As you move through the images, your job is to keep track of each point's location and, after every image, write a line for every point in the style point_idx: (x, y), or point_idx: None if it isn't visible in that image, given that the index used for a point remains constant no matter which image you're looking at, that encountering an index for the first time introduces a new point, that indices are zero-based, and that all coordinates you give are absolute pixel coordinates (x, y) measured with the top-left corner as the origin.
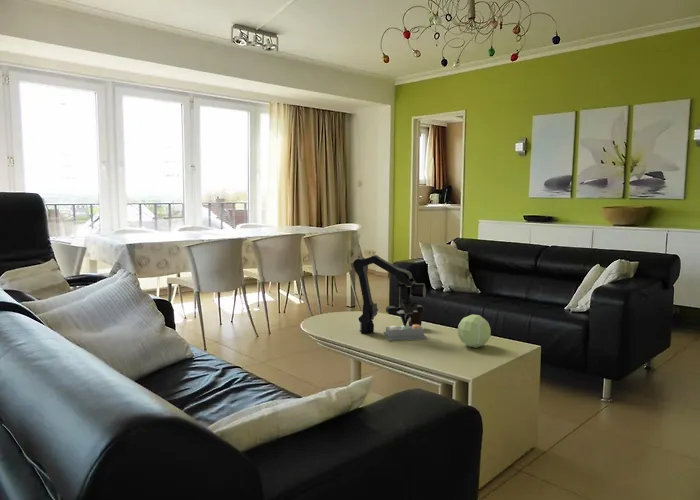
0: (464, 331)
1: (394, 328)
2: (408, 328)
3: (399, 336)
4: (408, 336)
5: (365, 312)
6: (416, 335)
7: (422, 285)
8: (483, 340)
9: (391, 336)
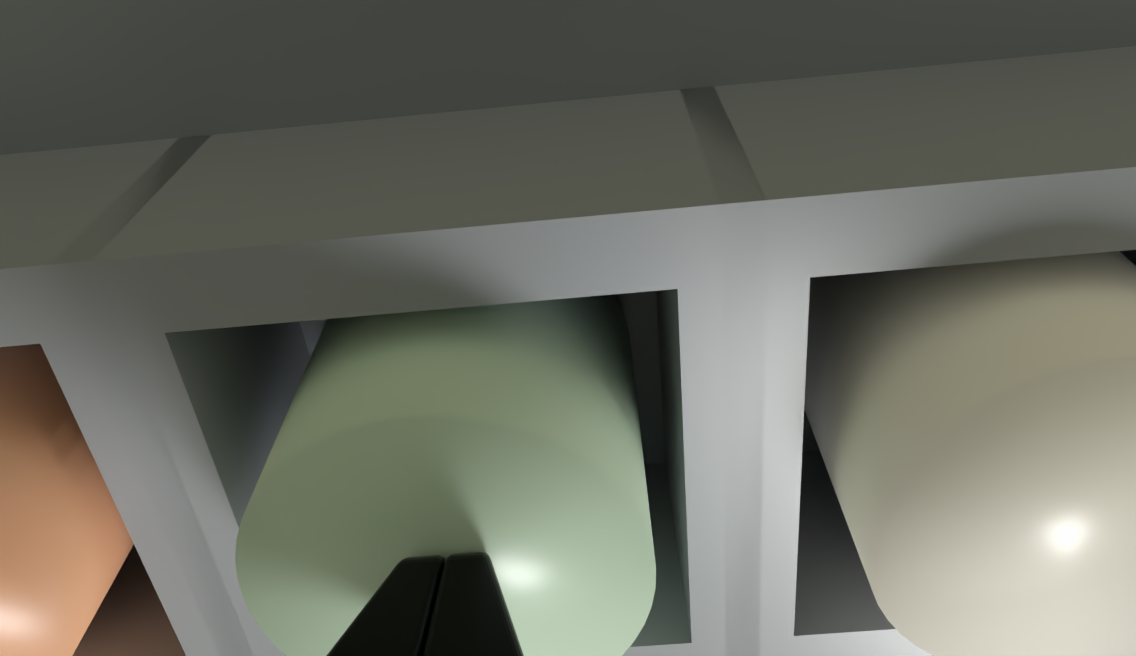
0: None
1: (1105, 319)
2: (286, 418)
3: (769, 44)
4: (369, 10)
5: None
6: (17, 144)
7: None
8: None
9: (1128, 49)
